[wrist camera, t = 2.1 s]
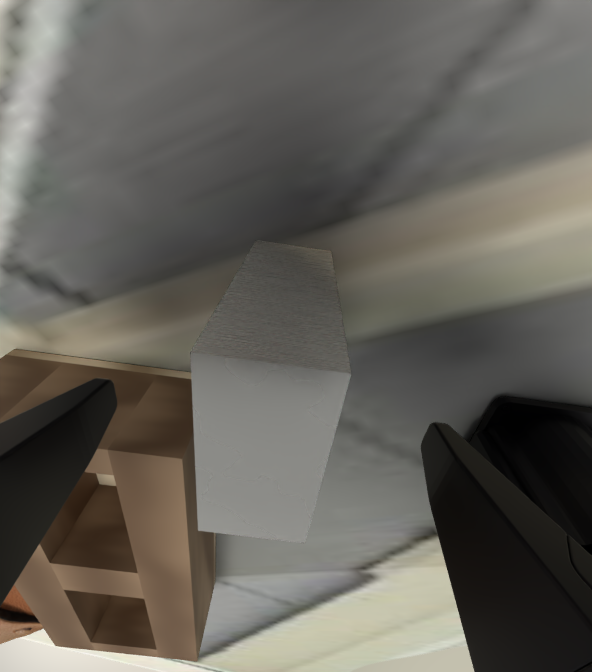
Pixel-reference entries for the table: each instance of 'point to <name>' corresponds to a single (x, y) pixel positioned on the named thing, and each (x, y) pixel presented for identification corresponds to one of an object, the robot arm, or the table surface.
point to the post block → (121, 516)
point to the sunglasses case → (16, 617)
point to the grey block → (268, 394)
